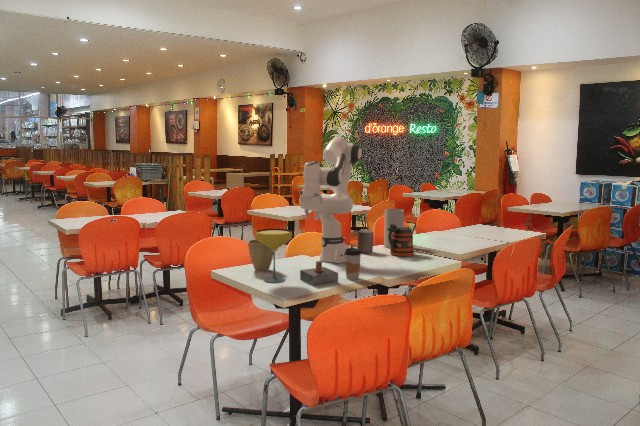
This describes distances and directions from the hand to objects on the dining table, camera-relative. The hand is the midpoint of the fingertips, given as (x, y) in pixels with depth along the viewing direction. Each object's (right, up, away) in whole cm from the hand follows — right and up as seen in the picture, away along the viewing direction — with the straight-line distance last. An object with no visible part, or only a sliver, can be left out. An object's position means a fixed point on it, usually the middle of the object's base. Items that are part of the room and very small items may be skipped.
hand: (311, 218), depth 280 cm
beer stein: (+54, -23, +50) cm, 77 cm away
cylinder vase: (+54, -20, +76) cm, 95 cm away
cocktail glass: (-19, -31, -12) cm, 38 cm away
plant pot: (-27, -28, +9) cm, 40 cm away
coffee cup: (+21, -31, -7) cm, 38 cm away
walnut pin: (+4, -31, -13) cm, 34 cm away
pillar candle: (+33, -22, +57) cm, 70 cm away
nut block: (+4, -31, -13) cm, 34 cm away
